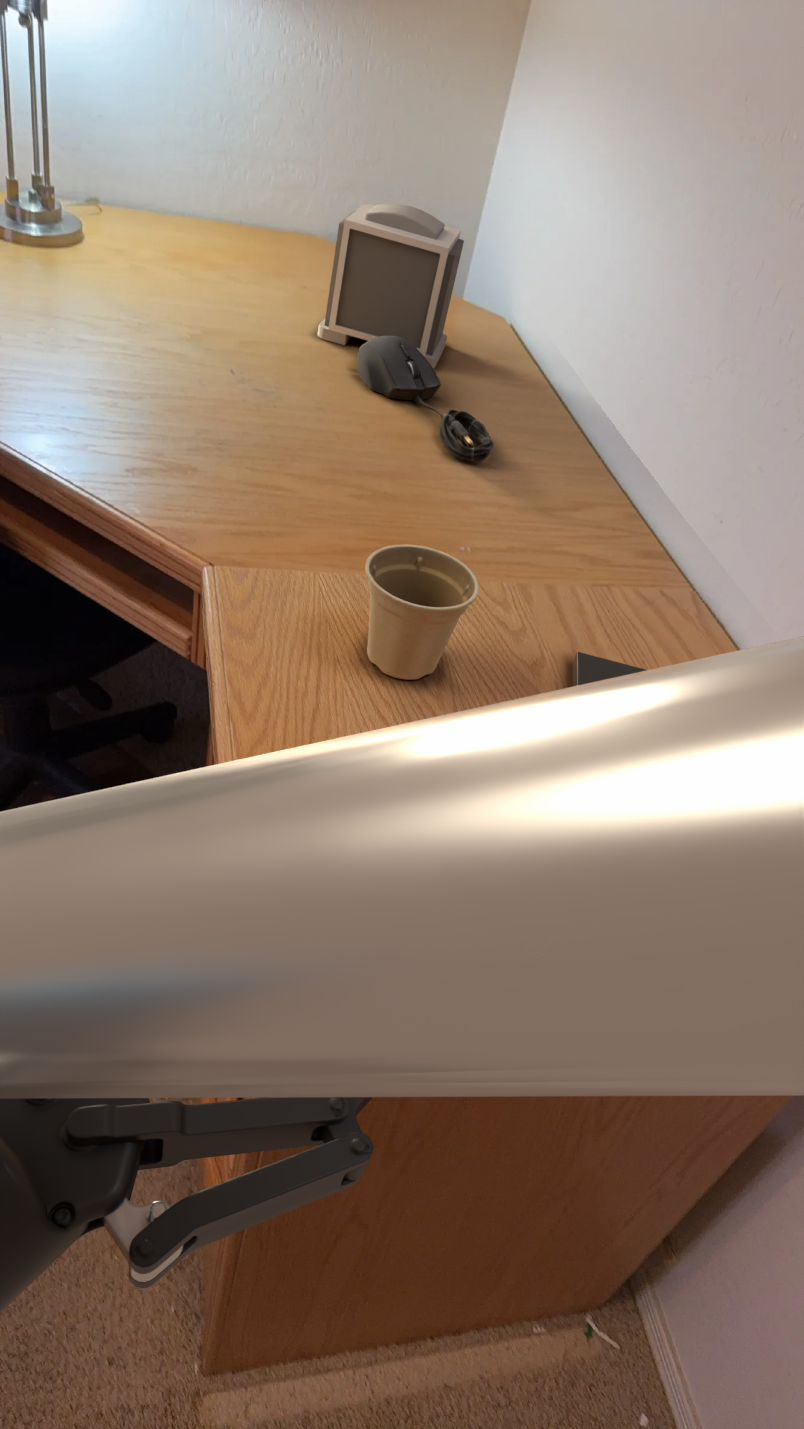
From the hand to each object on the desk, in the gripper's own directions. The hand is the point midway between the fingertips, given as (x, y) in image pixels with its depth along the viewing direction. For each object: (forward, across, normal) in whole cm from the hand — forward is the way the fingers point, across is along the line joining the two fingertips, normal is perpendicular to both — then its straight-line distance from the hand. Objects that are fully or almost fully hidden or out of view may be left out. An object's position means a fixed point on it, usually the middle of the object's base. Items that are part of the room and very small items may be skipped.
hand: (314, 910), depth 45 cm
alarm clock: (+91, -68, -8) cm, 114 cm away
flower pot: (+30, -16, -8) cm, 35 cm away
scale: (+39, +4, -8) cm, 40 cm away
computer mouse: (+76, -49, -8) cm, 90 cm away
